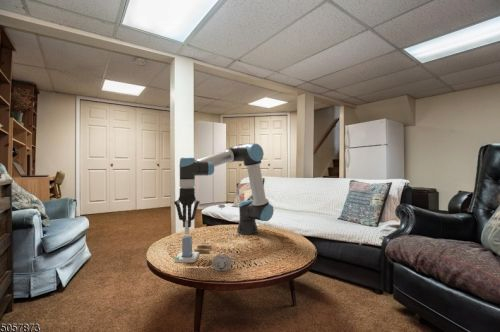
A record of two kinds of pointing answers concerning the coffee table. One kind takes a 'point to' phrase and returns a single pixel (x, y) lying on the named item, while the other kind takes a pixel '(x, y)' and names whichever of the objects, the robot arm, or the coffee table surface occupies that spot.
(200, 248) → the wooden rail base
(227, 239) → the coffee table surface
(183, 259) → the port
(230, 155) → the robot arm
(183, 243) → the plug
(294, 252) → the coffee table surface
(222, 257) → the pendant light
